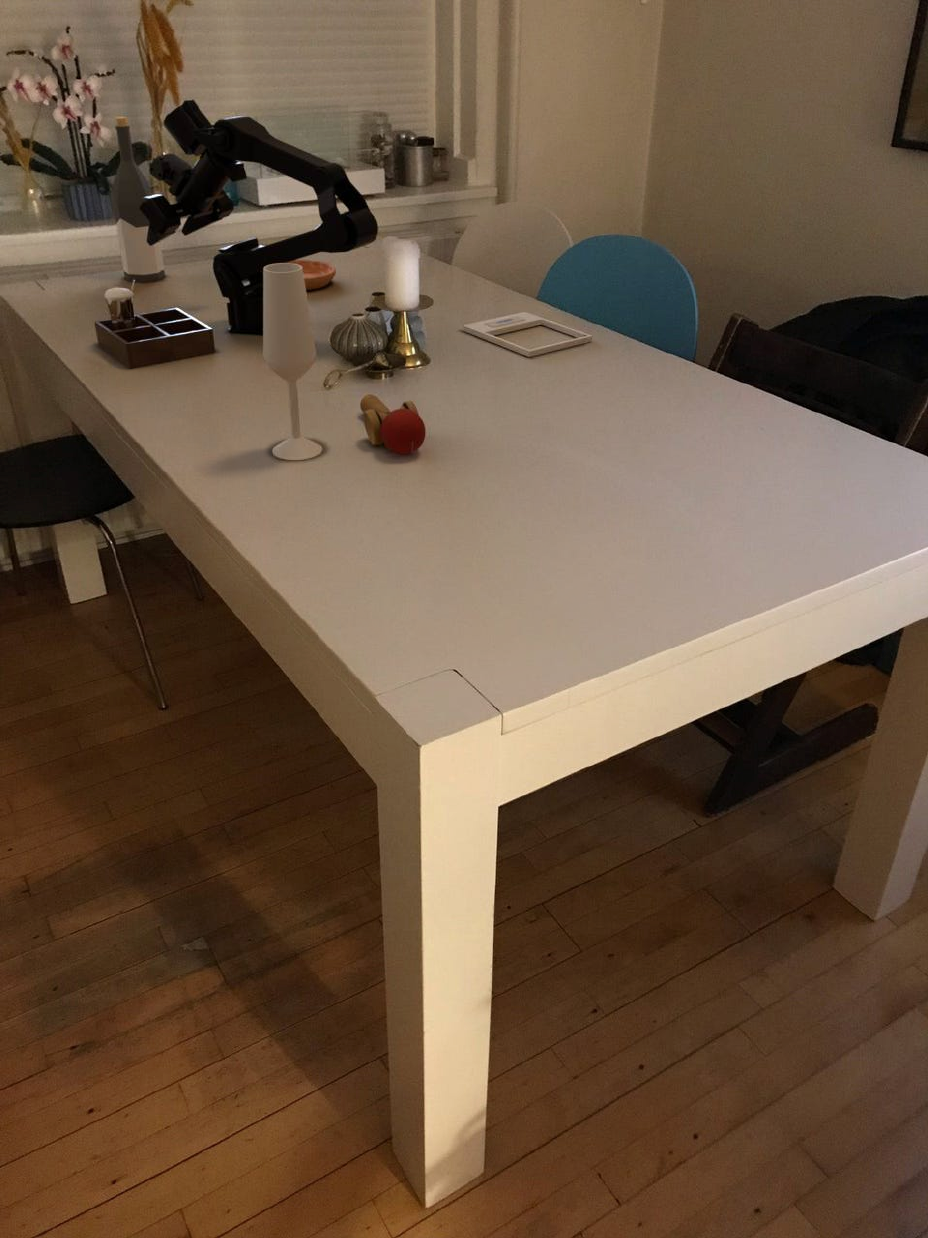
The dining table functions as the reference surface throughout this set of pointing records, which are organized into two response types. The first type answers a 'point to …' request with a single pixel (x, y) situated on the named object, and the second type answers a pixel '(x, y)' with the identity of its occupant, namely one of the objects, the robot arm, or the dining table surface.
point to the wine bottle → (133, 215)
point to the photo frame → (519, 322)
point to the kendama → (393, 425)
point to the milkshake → (121, 307)
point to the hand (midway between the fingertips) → (166, 238)
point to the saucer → (316, 273)
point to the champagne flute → (288, 345)
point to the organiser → (156, 338)
